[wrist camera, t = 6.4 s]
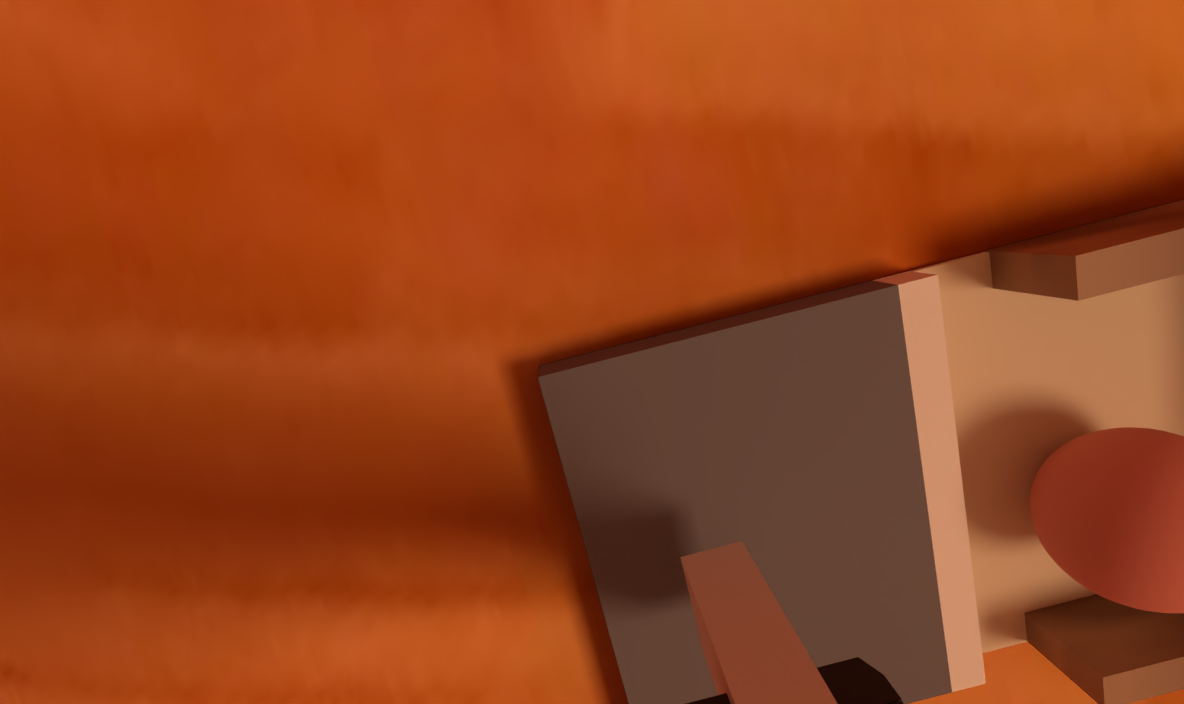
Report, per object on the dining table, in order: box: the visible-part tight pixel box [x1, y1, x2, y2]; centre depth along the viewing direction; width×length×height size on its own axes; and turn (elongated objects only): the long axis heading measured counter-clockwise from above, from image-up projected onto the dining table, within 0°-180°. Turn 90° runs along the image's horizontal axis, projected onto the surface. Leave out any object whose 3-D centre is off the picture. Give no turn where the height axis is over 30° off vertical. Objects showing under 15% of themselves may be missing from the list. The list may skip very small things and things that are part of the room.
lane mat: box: [538, 252, 1184, 704], centre depth 16 cm, size 20×12×1 cm, turn 104°
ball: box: [1030, 427, 1184, 613], centre depth 15 cm, size 4×4×4 cm
